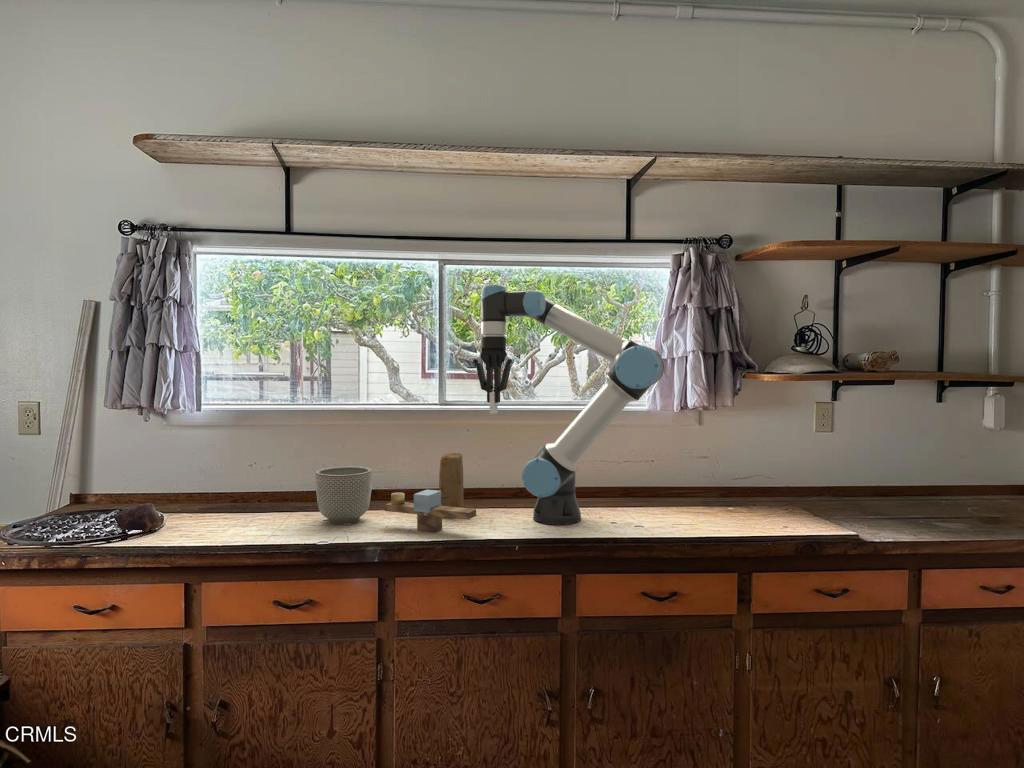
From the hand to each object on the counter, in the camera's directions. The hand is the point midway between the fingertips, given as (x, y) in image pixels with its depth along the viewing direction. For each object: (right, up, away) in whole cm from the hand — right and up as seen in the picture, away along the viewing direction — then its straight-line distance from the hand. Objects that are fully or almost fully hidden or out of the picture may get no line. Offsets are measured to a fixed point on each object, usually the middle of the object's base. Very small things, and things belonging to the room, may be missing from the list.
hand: (493, 413), depth 193 cm
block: (-14, -34, +14) cm, 40 cm away
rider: (-19, -28, -5) cm, 35 cm away
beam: (-19, -35, -5) cm, 40 cm away
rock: (-103, -35, -9) cm, 110 cm away
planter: (-47, -34, +5) cm, 58 cm away
